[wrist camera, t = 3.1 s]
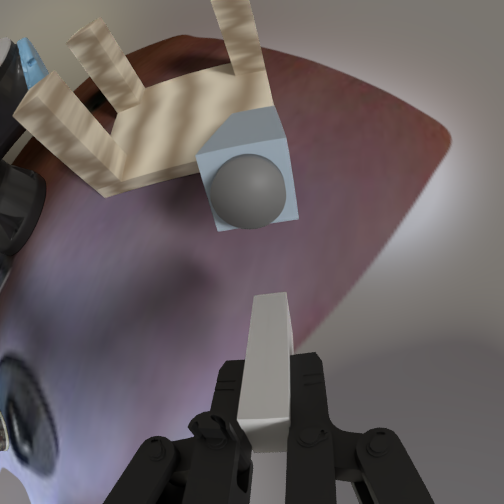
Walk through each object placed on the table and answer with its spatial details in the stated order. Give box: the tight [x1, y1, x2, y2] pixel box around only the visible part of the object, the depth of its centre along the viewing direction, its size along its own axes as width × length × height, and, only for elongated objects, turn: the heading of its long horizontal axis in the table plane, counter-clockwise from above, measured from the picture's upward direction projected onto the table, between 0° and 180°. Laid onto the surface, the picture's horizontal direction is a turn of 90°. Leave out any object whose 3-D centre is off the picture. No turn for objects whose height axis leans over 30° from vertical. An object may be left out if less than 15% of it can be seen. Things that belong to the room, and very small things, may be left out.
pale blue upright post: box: [195, 106, 299, 231], centre depth 18 cm, size 4×4×16 cm
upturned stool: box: [13, 0, 274, 198], centre depth 24 cm, size 22×18×17 cm
